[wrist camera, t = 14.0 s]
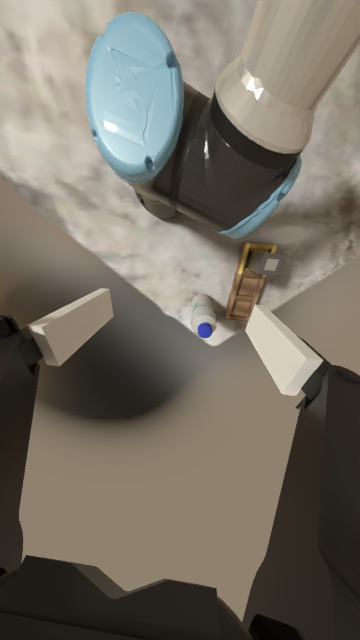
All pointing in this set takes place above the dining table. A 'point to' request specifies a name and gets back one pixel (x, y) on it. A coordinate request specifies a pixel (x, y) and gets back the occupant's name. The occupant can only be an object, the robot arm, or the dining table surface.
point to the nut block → (264, 262)
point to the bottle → (202, 316)
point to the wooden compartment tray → (246, 285)
